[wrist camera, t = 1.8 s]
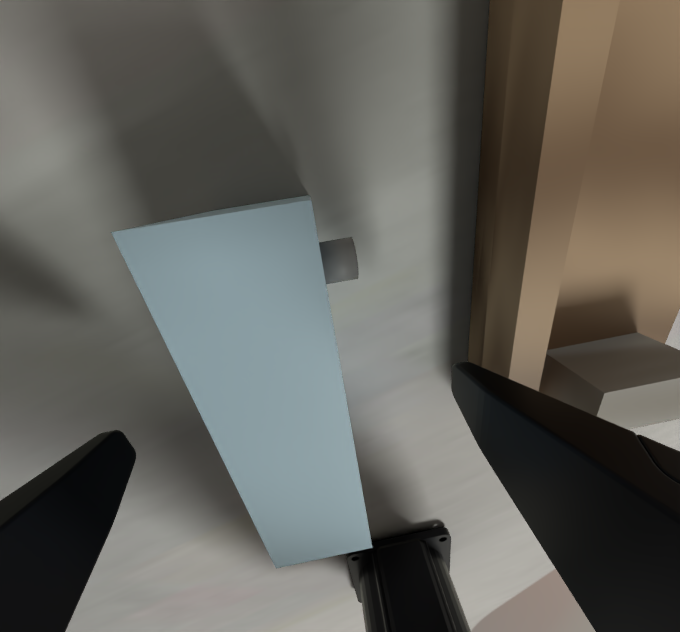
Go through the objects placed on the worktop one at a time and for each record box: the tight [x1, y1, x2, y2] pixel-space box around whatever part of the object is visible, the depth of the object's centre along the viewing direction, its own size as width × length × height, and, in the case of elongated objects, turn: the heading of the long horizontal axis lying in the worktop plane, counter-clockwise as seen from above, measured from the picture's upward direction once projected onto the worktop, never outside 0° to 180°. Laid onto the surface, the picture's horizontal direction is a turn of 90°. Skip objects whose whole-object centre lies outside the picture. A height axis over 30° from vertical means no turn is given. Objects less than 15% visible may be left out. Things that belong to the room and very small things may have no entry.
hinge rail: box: [468, 0, 680, 429], centre depth 8 cm, size 18×8×4 cm, turn 9°
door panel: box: [111, 195, 372, 568], centre depth 9 cm, size 10×4×5 cm, turn 8°
